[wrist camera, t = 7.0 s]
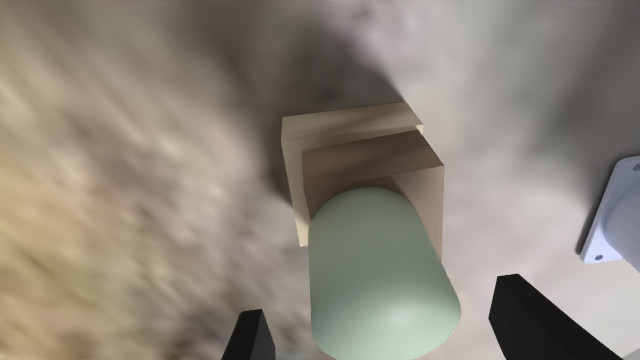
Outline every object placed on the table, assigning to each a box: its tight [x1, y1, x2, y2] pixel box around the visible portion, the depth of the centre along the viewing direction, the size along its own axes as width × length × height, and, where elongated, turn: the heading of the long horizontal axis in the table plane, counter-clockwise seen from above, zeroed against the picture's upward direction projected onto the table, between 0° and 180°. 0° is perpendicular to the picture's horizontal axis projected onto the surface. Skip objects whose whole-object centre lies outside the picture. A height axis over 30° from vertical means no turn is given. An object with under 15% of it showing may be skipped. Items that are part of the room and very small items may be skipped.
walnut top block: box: [302, 130, 444, 261], centre depth 15 cm, size 5×5×3 cm
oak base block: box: [281, 102, 423, 247], centre depth 18 cm, size 6×6×3 cm
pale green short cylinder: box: [308, 187, 461, 360], centre depth 12 cm, size 4×4×4 cm
